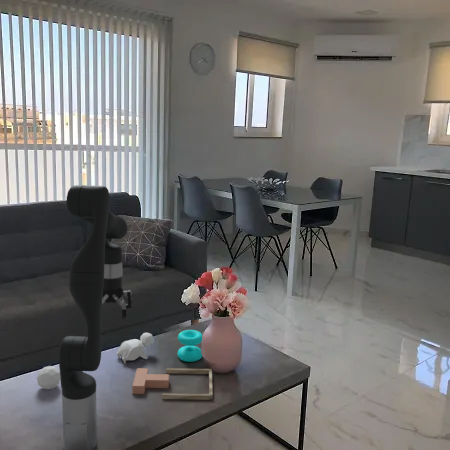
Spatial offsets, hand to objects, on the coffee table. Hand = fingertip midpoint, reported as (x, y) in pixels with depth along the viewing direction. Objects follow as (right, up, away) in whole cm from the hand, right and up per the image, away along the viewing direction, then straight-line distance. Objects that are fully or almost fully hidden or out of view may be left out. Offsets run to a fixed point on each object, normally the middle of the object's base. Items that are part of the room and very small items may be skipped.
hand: (111, 318), depth 173 cm
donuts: (+26, -20, +22) cm, 39 cm away
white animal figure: (+5, -19, +20) cm, 28 cm away
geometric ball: (-21, -23, -4) cm, 31 cm away
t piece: (+14, -24, 0) cm, 28 cm away
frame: (+27, -24, +1) cm, 36 cm away
